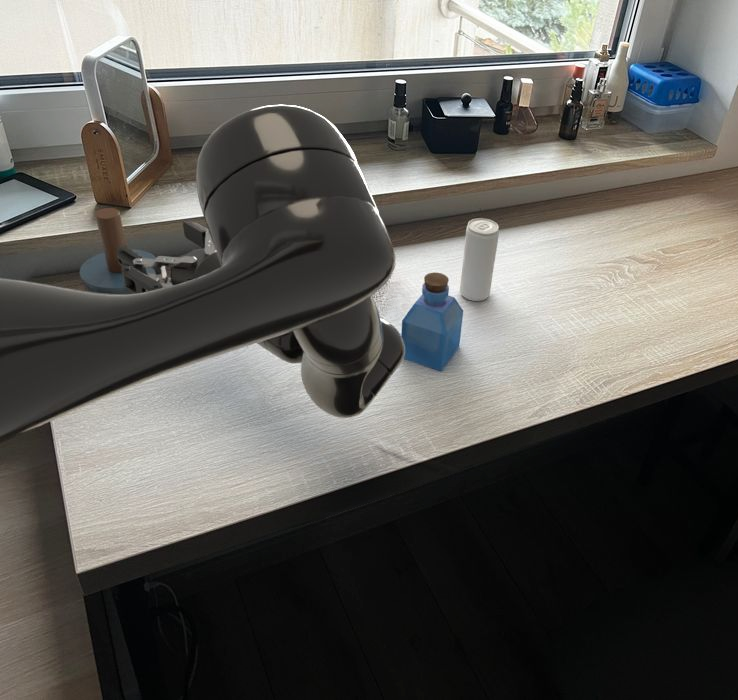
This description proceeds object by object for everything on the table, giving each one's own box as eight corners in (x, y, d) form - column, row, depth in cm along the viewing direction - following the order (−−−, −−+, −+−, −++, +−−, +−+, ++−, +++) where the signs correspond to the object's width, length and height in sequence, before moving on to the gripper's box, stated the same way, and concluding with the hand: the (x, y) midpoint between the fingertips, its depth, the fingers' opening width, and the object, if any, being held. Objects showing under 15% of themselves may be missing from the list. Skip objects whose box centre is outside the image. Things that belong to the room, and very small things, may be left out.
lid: (98, 303, 90) (81, 240, 85) (70, 269, 95) (52, 207, 90) (173, 280, 96) (161, 219, 90) (142, 248, 101) (129, 189, 95)
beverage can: (453, 293, 112) (460, 224, 105) (472, 281, 115) (481, 214, 108) (476, 306, 110) (485, 237, 103) (496, 294, 113) (506, 226, 106)
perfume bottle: (400, 357, 99) (404, 283, 91) (419, 333, 103) (424, 261, 96) (441, 371, 97) (448, 297, 90) (459, 346, 102) (467, 274, 94)
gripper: (293, 243, 81) (201, 193, 87) (183, 293, 71) (90, 232, 78) (296, 299, 85) (209, 246, 92) (193, 353, 76) (104, 290, 83)
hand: (154, 240), depth 85 cm, fingers open, 8 cm apart
